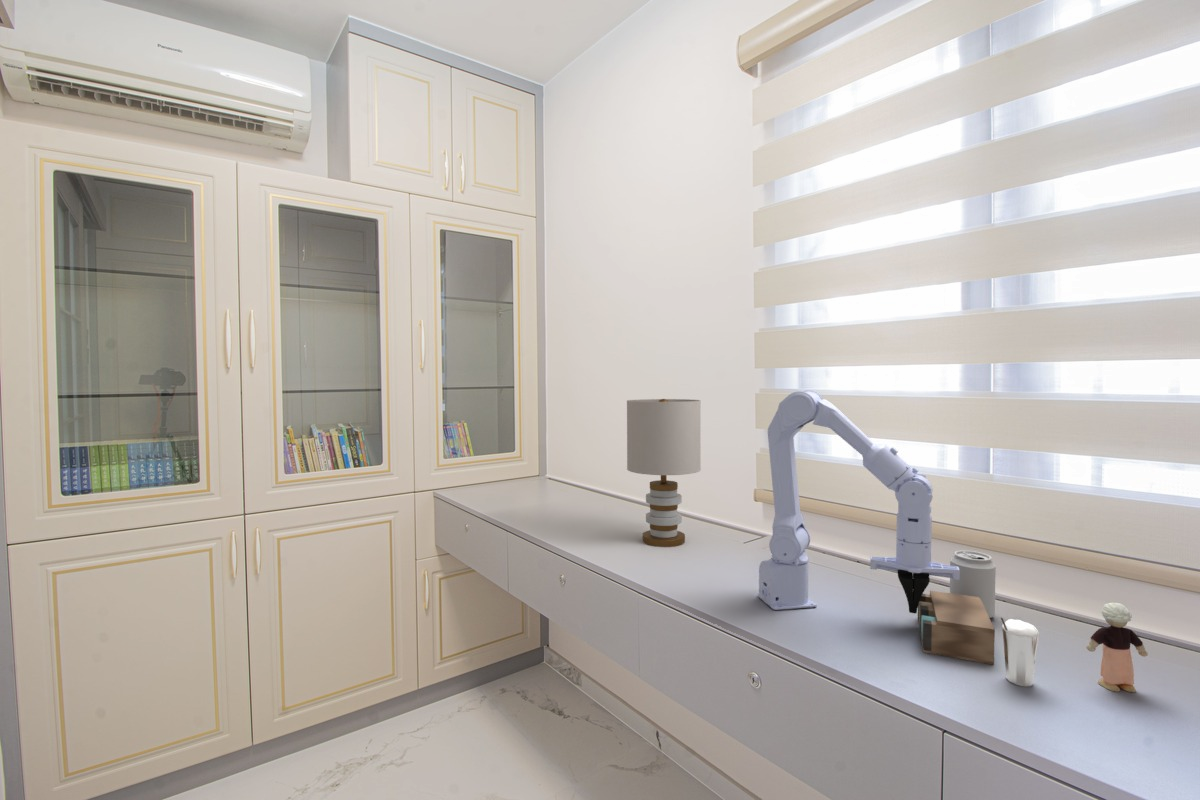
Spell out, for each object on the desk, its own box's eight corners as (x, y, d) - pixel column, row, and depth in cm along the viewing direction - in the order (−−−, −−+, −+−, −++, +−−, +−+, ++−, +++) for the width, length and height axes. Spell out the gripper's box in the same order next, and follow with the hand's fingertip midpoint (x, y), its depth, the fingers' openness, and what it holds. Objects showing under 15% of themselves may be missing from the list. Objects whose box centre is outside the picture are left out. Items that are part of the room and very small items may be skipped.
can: (980, 625, 106) (982, 562, 106) (941, 611, 113) (942, 551, 113) (1003, 617, 110) (1004, 556, 109) (963, 604, 116) (964, 546, 116)
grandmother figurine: (1126, 679, 87) (1128, 597, 87) (1151, 693, 83) (1153, 608, 83) (1077, 680, 87) (1079, 598, 86) (1100, 694, 83) (1102, 609, 83)
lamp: (660, 527, 178) (660, 397, 177) (715, 541, 163) (715, 398, 162) (612, 540, 164) (611, 399, 163) (667, 556, 149) (667, 400, 147)
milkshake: (989, 674, 89) (990, 611, 88) (1021, 672, 89) (1022, 610, 89) (1012, 690, 84) (1013, 624, 84) (1046, 688, 85) (1047, 622, 84)
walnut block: (923, 652, 96) (923, 618, 96) (917, 618, 110) (917, 588, 109) (994, 664, 92) (994, 629, 92) (979, 628, 105) (979, 597, 105)
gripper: (870, 540, 106) (869, 612, 106) (962, 550, 99) (961, 626, 100) (870, 531, 112) (870, 599, 112) (957, 539, 105) (956, 611, 106)
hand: (912, 611), depth 106 cm, fingers closed
